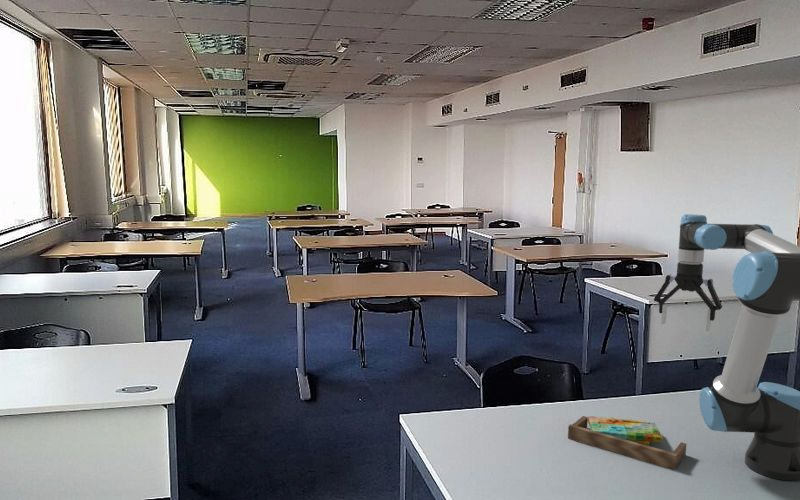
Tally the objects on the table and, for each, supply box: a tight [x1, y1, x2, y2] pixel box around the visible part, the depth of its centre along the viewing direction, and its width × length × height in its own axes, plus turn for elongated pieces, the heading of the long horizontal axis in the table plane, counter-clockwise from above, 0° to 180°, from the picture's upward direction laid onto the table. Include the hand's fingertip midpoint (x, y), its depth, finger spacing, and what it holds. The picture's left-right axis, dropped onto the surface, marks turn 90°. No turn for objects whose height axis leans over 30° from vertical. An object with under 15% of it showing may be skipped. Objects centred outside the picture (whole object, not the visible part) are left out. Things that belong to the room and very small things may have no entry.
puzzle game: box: [587, 416, 664, 446], centre depth 192 cm, size 12×5×20 cm
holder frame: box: [567, 415, 688, 471], centre depth 186 cm, size 31×12×4 cm, turn 52°
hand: (685, 326), depth 205 cm, fingers open, 13 cm apart
